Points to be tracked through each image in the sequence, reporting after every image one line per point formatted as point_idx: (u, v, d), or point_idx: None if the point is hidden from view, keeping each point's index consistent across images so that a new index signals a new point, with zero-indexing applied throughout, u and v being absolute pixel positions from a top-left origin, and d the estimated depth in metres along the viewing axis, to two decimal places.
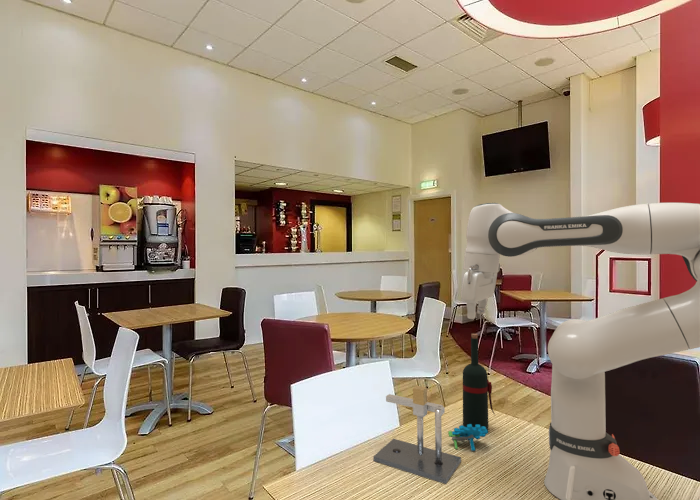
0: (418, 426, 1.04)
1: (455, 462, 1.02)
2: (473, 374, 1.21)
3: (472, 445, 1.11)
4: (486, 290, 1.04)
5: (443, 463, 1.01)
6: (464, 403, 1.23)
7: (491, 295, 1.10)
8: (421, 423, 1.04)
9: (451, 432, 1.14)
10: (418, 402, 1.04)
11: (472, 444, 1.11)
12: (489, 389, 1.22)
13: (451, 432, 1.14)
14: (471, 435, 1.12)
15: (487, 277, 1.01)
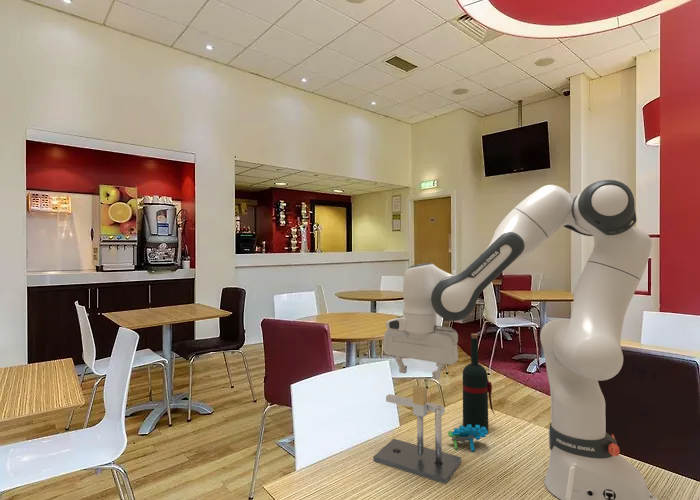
0: (418, 426, 1.04)
1: (455, 462, 1.02)
2: (473, 374, 1.21)
3: (472, 445, 1.10)
4: None
5: (443, 463, 1.01)
6: (464, 403, 1.23)
7: None
8: (421, 423, 1.04)
9: (451, 432, 1.14)
10: (418, 402, 1.04)
11: (472, 444, 1.11)
12: (489, 389, 1.22)
13: (451, 432, 1.14)
14: (471, 435, 1.12)
15: None
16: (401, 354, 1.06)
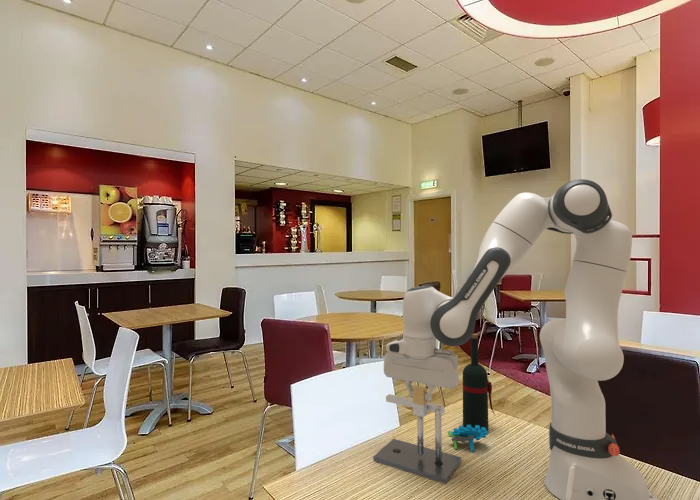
0: (418, 426, 1.04)
1: (455, 462, 1.02)
2: (473, 374, 1.21)
3: (471, 446, 1.10)
4: None
5: (443, 463, 1.01)
6: (464, 403, 1.23)
7: None
8: (421, 423, 1.04)
9: (451, 432, 1.14)
10: (418, 402, 1.04)
11: (471, 445, 1.10)
12: (489, 389, 1.22)
13: (451, 432, 1.14)
14: (471, 436, 1.12)
15: None
16: (402, 377, 1.06)
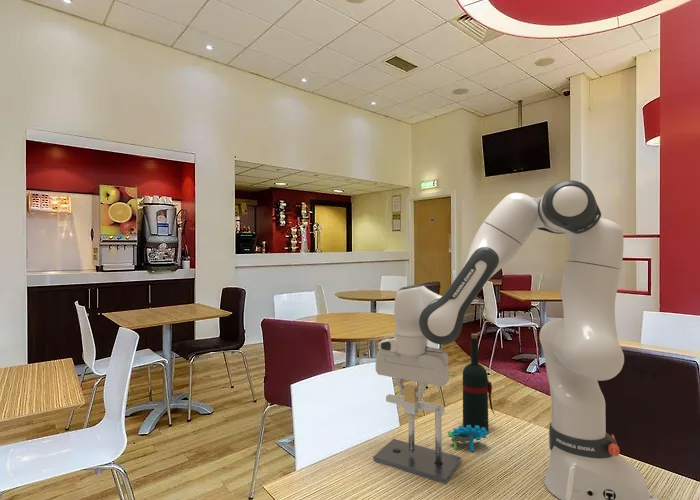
0: (409, 424, 1.05)
1: (455, 462, 1.02)
2: (473, 374, 1.21)
3: (471, 446, 1.10)
4: None
5: (443, 463, 1.01)
6: (464, 403, 1.23)
7: None
8: (412, 421, 1.05)
9: (451, 432, 1.14)
10: (409, 400, 1.05)
11: (471, 445, 1.10)
12: (489, 389, 1.22)
13: (451, 432, 1.14)
14: (471, 436, 1.12)
15: None
16: (393, 375, 1.07)
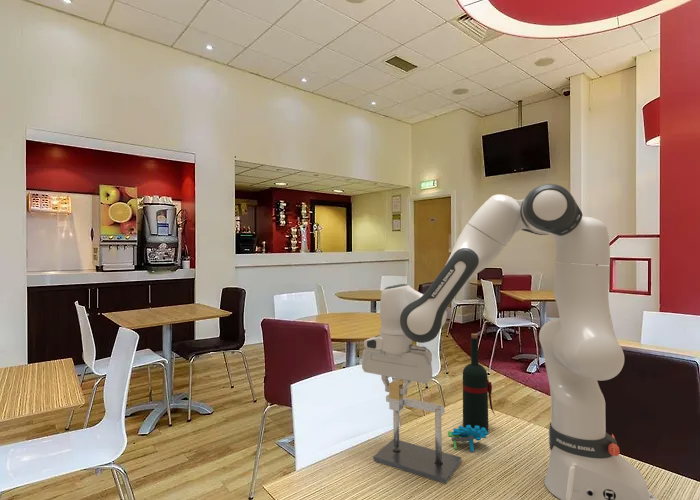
0: (394, 420, 1.08)
1: (455, 462, 1.02)
2: (473, 374, 1.21)
3: (471, 446, 1.10)
4: None
5: (443, 463, 1.01)
6: (464, 403, 1.23)
7: None
8: (397, 417, 1.08)
9: (451, 432, 1.14)
10: (394, 397, 1.07)
11: (471, 445, 1.10)
12: (489, 389, 1.22)
13: (451, 432, 1.14)
14: (471, 436, 1.12)
15: None
16: (378, 372, 1.09)
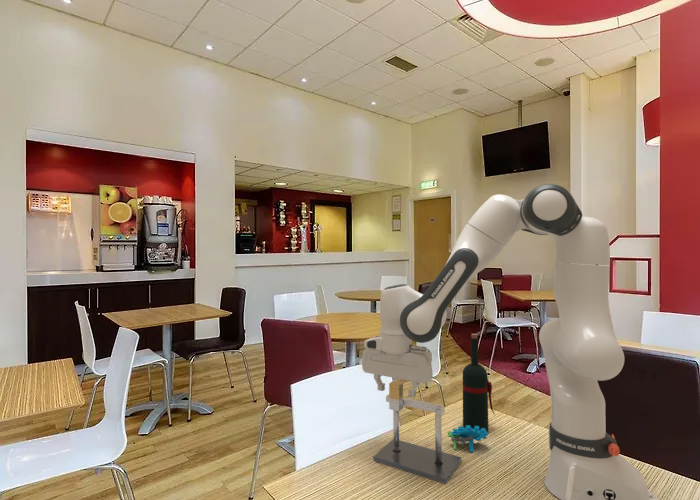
0: (394, 420, 1.08)
1: (455, 462, 1.02)
2: (473, 374, 1.21)
3: (471, 446, 1.10)
4: None
5: (443, 463, 1.01)
6: (464, 403, 1.23)
7: None
8: (397, 417, 1.08)
9: (451, 432, 1.14)
10: (394, 397, 1.07)
11: (471, 445, 1.10)
12: (489, 389, 1.22)
13: (451, 432, 1.14)
14: (470, 436, 1.11)
15: None
16: (379, 372, 1.09)
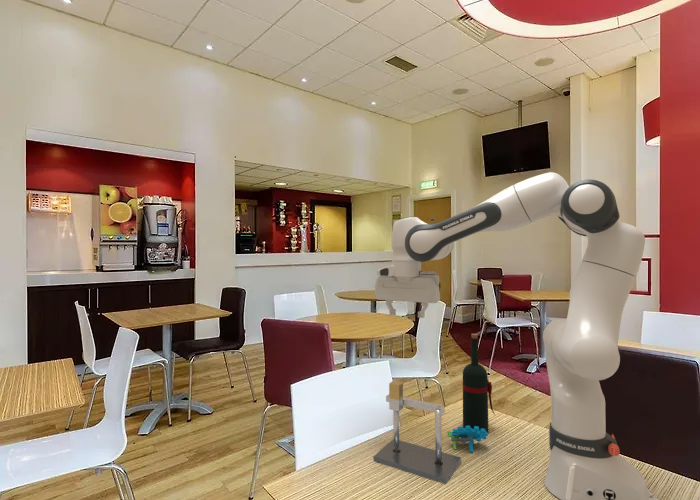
0: (394, 420, 1.08)
1: (455, 462, 1.02)
2: (473, 374, 1.21)
3: (470, 447, 1.10)
4: None
5: (443, 463, 1.01)
6: (464, 403, 1.23)
7: None
8: (397, 417, 1.08)
9: (450, 433, 1.14)
10: (394, 397, 1.07)
11: (471, 446, 1.10)
12: (489, 389, 1.22)
13: None
14: (470, 437, 1.11)
15: None
16: (390, 298, 1.20)
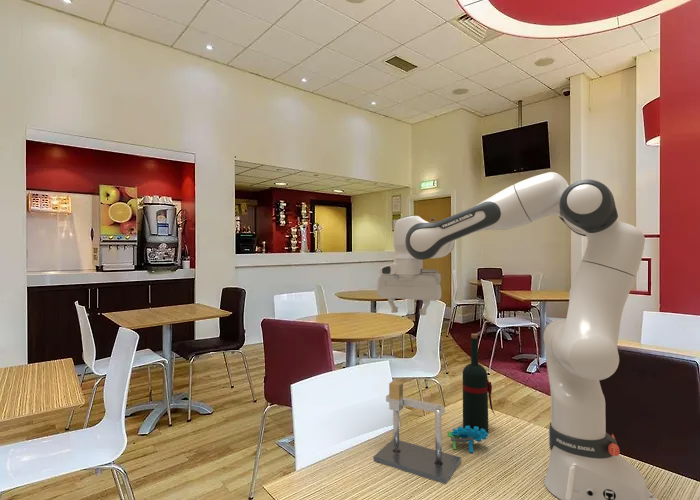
0: (394, 420, 1.08)
1: (455, 462, 1.02)
2: (473, 374, 1.21)
3: (470, 447, 1.10)
4: None
5: (443, 463, 1.01)
6: (464, 403, 1.23)
7: None
8: (397, 417, 1.08)
9: (450, 433, 1.14)
10: (394, 397, 1.07)
11: (470, 446, 1.10)
12: (489, 389, 1.22)
13: None
14: (470, 437, 1.11)
15: None
16: (393, 296, 1.22)
